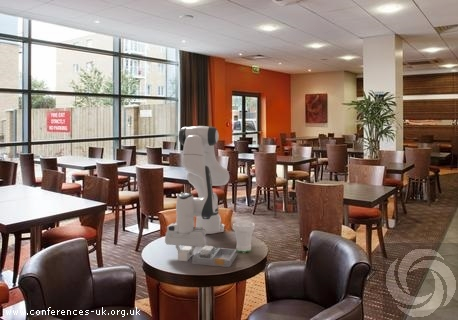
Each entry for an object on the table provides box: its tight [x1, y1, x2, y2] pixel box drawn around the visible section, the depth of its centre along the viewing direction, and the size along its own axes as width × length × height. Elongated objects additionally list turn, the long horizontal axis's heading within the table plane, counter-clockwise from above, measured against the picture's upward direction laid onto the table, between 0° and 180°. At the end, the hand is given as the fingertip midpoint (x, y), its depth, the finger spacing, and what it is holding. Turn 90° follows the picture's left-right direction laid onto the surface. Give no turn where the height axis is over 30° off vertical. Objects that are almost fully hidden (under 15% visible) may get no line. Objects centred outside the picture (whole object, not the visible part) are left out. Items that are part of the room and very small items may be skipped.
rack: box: [191, 245, 238, 268], centre depth 194 cm, size 17×18×5 cm
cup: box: [232, 221, 256, 254], centre depth 206 cm, size 11×11×14 cm
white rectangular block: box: [177, 246, 193, 262], centre depth 197 cm, size 10×4×4 cm, turn 167°
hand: (185, 254), depth 197 cm, fingers closed on white rectangular block, 4 cm apart
